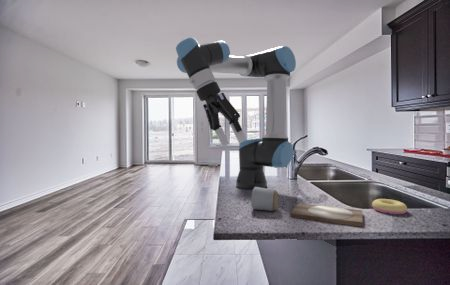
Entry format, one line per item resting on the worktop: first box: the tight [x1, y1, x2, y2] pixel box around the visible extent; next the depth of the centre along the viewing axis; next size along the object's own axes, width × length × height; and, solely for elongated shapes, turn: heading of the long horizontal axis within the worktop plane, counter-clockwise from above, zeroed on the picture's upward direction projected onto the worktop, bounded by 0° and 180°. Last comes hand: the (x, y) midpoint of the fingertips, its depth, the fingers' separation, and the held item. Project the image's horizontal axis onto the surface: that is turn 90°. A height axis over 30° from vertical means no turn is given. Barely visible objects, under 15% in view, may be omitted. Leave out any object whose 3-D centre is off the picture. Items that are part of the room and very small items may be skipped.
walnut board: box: [289, 203, 364, 228], centre depth 81 cm, size 13×20×1 cm, turn 63°
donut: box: [371, 198, 408, 216], centre depth 85 cm, size 10×5×9 cm
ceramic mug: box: [250, 187, 279, 212], centre depth 89 cm, size 11×8×8 cm
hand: (233, 143), depth 86 cm, fingers open, 13 cm apart
